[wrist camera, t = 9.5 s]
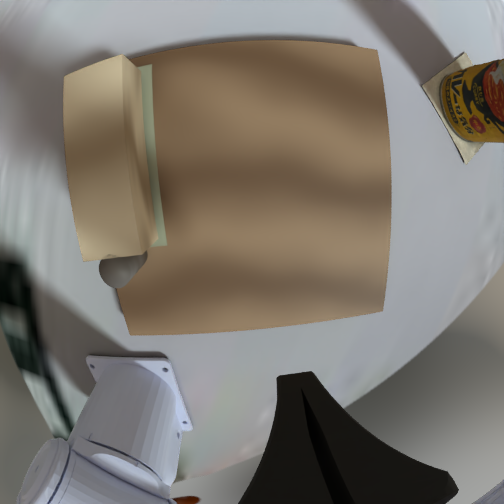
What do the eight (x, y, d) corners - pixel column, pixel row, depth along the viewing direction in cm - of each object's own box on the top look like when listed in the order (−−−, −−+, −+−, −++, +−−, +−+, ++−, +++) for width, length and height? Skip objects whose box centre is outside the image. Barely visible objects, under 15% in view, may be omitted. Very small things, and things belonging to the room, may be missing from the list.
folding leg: (163, 264, 16) (149, 285, 13) (112, 270, 16) (91, 290, 13) (141, 71, 12) (122, 54, 9) (89, 87, 12) (64, 76, 9)
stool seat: (374, 301, 20) (383, 311, 18) (135, 324, 19) (128, 336, 18) (367, 56, 14) (377, 49, 13) (100, 77, 14) (90, 70, 12)
